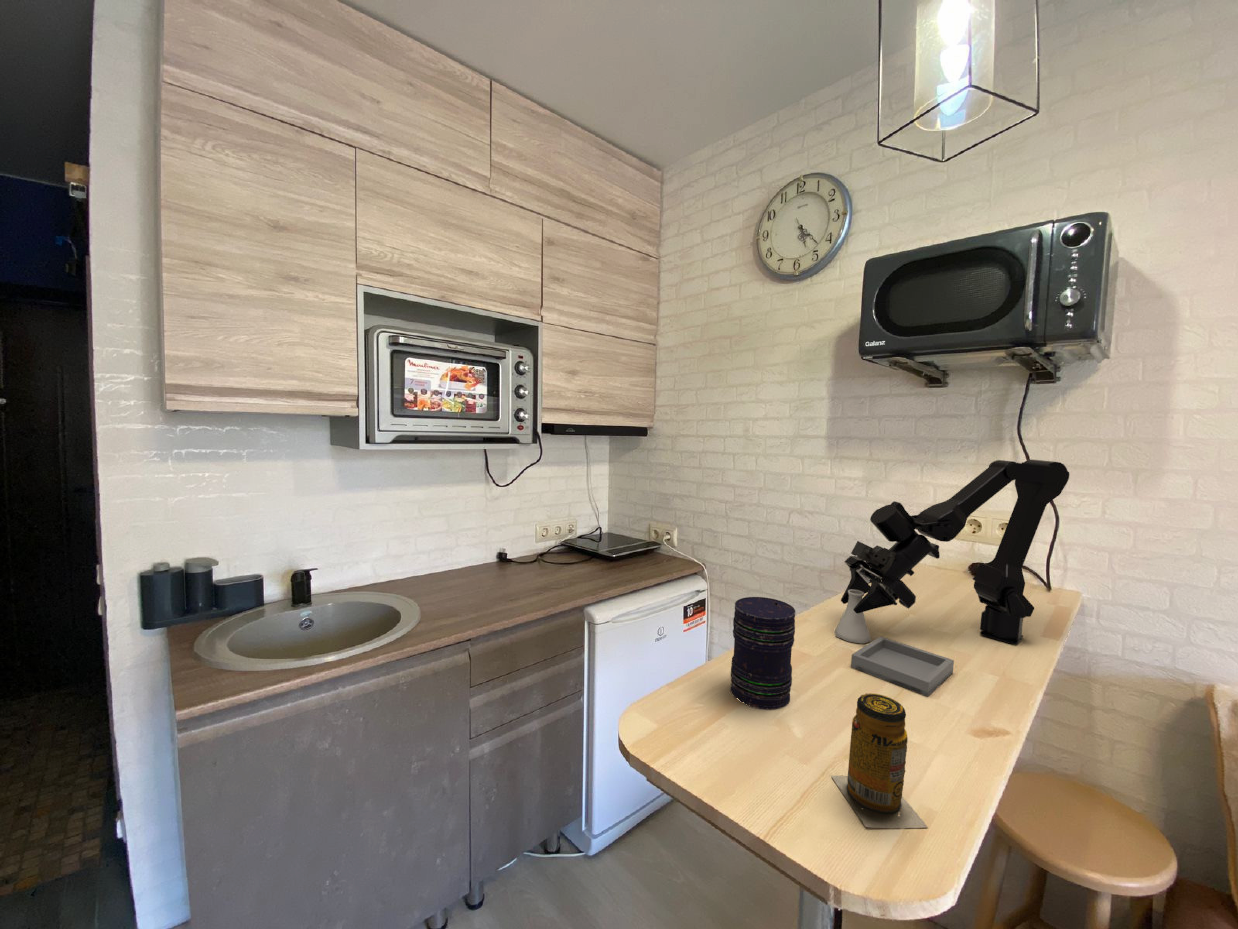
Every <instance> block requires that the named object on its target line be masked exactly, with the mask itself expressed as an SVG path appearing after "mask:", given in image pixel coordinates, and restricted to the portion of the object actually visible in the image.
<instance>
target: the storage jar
mask: <svg viewBox="0 0 1238 929" xmlns="http://www.w3.org/2000/svg"><path fill="white" fill-rule="evenodd" d="M733 616H734V617H733V621H732V627H733V629H732V636H733V639H734V640H733V641H734V643H733V644H734V645H733V655H732V658H731V666H730V682H731V684H730V692H731V691H732V693H731V695H732V694H733V695H734V696H735V697H736V698H738V699H739V700H740V701H741V702H744V703H745V704H747V705H750V706H751V708H753V707H754V709H758V708H759V709H758V710H764V711H765V710H766V711H771V710H779V709H783V708H785V707H787V706H788V705H789V703H790V701H791V694H790V693H791V690H792V689H791V687H792V684H793V676H792V675H793V666H792V663H791V662H792V650H793V646H794V642H795V633H796V625H795V624H796V620H795V619H796V609H795V608H794V606H793V605H791V604H789V603H787V602H785V601H783V600H779V599H776V598H769V597H763V596H748V597H742V598H739V599H737V600H736V601H735V603H734V612H733ZM733 695H732V696H733ZM734 696H733V697H734ZM735 697H734V698H735ZM736 698H735V699H736ZM740 701H739V702H740ZM741 702H740V703H741ZM745 704H744V705H745ZM747 705H746V706H747ZM750 706H749V707H750Z"/></svg>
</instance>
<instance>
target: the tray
mask: <svg viewBox="0 0 1238 929" xmlns="http://www.w3.org/2000/svg"><path fill="white" fill-rule="evenodd" d="M954 662H955V659H951V658H949V657H946V656H942V655H939V654H937V653H933V652H931V651H928V650H924V649H921V648H918V647H915V646H912V645H910V644H906V643H902V642H899V641H896V640H893V639H890V638H887V637H884V636H879V637H877V638H875V639H874V640H871V641H870V643H869V642H868V644H866V645H864V646H863V647H861V648H860V649H858V650H856V651H855V652H853V653H852V654H851V660H850V668H852V669H854V670H857V671H859V672H862V673H865V674H867V675H870V676H872V677H875V678H877V679H881V680H882V681H885V682H888V683H890V684H893V685H896V686H898V687H901V688H903V689H906V690H909V691H911V692H914V693H917V694H919V695H921V696H925V697H926V698H928V697H929V696H930V695H931V694H933V693H934V692H935V691H936V690H937V689H938V688H939V687H940V686H941V685H942V684H943V683H944V682H945V681H946V680H947V679H948V678H950V677H951V675H952V674H953V673H954V664H955V663H954Z"/></svg>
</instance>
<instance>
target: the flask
mask: <svg viewBox="0 0 1238 929" xmlns="http://www.w3.org/2000/svg"><path fill="white" fill-rule="evenodd" d="M848 594H849V600H848V603H846V608H845V610H844V612H843V614H842V616H841V617H840V620H839V622H838V624H837V626H836V628H835V630H834V634H835V637H837V638H839V639H842V640H844V641H847V642H850V643H854V644H855V643H856V644H863V645H864V644H866V643H869V642H872V639H871V635H870V632H869V629H868V625H867V621H866V618H865V612H862V613H858V614H857V613H855V611H854V610H853V609H854V608H855V607H856V605H857V604H858V603H859V602H860V601H861V600H862V598H863V597H864V596H865V594H864V592H863V591H859V590H854V589H850V590H848Z"/></svg>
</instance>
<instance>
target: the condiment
mask: <svg viewBox="0 0 1238 929" xmlns="http://www.w3.org/2000/svg"><path fill="white" fill-rule="evenodd" d="M906 717H907V714H906V710H905V708H904V706H903V705H902V704H901V703H899V702H898V701H897V700H895V699H894V698H892V697H888V696H887V695H883V694H880V693H879V694H878V693H867V692H866V693H865V694H862V695H860V696H859V697H858V698H857V701H856V709H855V715H854V716H853V718H852V721H851V730H850V731H851V733H850V734H851V735H850V743H849V744H850V745H849V754H848V755H849V756H848V768H847V775H831V778H832V779H833V781H834V782H835V784H836V786H837V788H839V790H840V792H841V793H842V795H843V796H844V798H845V799H846V800H847V803H849V804H850V805H851V807H852V809H853V810H854V813H855V814H856V815H857V817H858V818H859V819H860V820H861V822H862V823H863V825H864V827H865V828H874V829H901V830H903V829H919V828H922V829H923V828H928V825H927V824H926V823H925V821H924V820H923V818H921V817H920V815H919V813H918V812H916V811H915V809H914V808H913V807H912V806H911V804H910V803H909V802H908V801H907V800H906V799H905V798H904V797H903V790H904V783H905V773H906V764H907V761H906V760H907V752H908V739H909V738H908V733H907V730H906Z"/></svg>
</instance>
